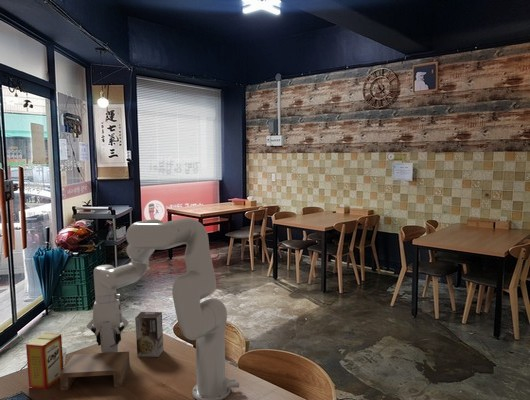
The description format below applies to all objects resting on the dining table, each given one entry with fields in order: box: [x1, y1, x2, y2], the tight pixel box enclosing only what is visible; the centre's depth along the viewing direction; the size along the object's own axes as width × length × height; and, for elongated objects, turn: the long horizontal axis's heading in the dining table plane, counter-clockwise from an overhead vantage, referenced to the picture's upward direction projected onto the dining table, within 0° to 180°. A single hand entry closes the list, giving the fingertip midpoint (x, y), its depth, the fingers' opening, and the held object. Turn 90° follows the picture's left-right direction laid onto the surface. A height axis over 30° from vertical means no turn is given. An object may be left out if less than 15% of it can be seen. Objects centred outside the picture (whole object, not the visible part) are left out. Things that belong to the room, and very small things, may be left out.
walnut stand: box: [59, 351, 131, 391], centre depth 154 cm, size 20×14×6 cm
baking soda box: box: [25, 332, 64, 390], centre depth 152 cm, size 10×6×16 cm
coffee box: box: [134, 311, 164, 358], centre depth 173 cm, size 9×6×16 cm
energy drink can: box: [100, 321, 119, 353], centre depth 166 cm, size 6×6×15 cm
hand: (109, 343), depth 166 cm, fingers closed on energy drink can, 6 cm apart
